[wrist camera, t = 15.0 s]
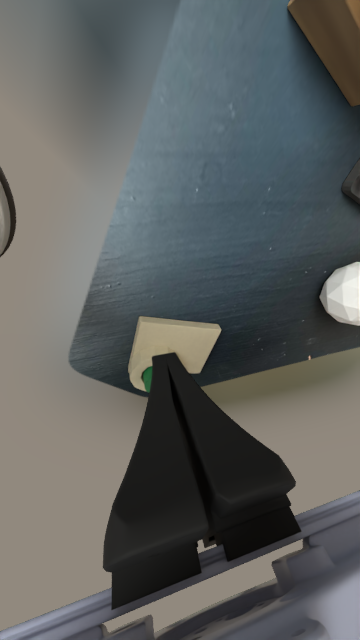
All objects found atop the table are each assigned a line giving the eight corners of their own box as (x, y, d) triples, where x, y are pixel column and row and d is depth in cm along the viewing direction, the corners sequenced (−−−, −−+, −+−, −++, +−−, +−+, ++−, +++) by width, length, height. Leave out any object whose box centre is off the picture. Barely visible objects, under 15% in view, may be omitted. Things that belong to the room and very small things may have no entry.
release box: (126, 372, 26) (126, 392, 24) (138, 315, 21) (141, 333, 19) (194, 372, 30) (200, 389, 28) (218, 324, 25) (228, 339, 23)
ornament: (329, 311, 29) (338, 348, 23) (309, 268, 27) (314, 298, 21) (397, 292, 24) (430, 332, 19) (379, 239, 22) (410, 267, 16)
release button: (140, 381, 24) (142, 394, 23) (146, 363, 22) (147, 375, 21) (165, 381, 25) (168, 393, 24) (172, 363, 23) (176, 375, 22)
